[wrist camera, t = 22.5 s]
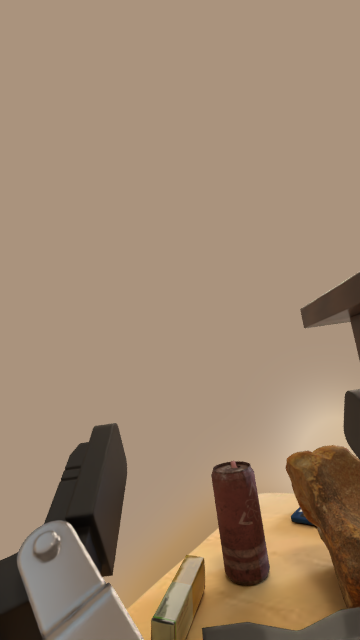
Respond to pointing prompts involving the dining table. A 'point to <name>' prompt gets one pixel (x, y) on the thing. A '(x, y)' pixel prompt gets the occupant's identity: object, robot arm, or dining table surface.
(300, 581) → the dining table surface
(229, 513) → the can
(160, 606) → the medication box
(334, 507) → the rough brown rock
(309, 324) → the stand
